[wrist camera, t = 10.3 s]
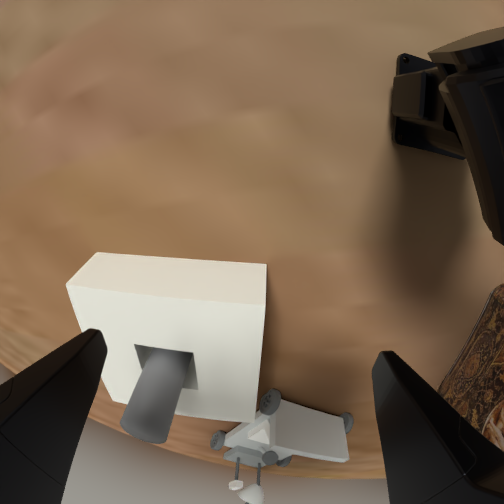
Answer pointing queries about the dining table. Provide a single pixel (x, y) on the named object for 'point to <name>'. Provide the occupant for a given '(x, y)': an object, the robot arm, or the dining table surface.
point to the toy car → (282, 439)
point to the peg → (156, 395)
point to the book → (481, 373)
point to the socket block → (178, 325)
